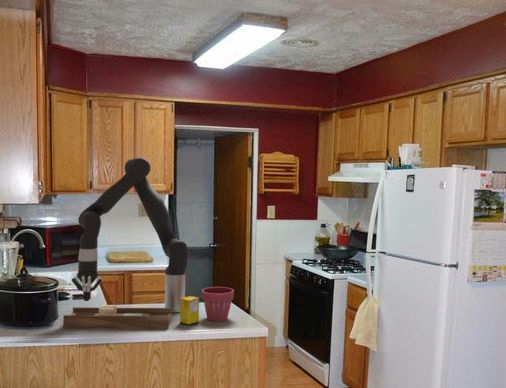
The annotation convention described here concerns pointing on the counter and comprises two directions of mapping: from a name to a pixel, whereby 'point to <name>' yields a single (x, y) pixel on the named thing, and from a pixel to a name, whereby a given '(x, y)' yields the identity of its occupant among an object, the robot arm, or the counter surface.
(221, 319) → the plant pot
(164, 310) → the walnut track
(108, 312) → the maple block
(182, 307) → the supplement box
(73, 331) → the counter surface
